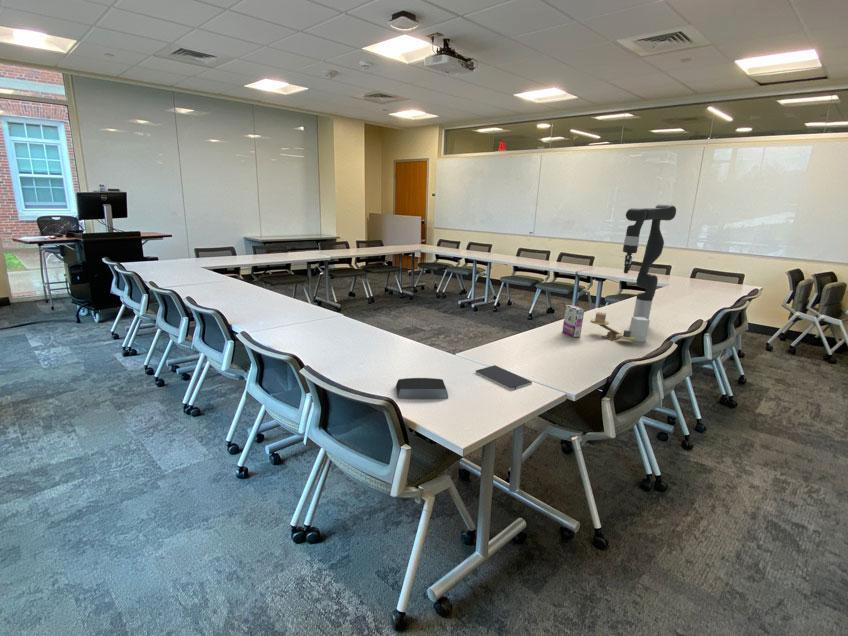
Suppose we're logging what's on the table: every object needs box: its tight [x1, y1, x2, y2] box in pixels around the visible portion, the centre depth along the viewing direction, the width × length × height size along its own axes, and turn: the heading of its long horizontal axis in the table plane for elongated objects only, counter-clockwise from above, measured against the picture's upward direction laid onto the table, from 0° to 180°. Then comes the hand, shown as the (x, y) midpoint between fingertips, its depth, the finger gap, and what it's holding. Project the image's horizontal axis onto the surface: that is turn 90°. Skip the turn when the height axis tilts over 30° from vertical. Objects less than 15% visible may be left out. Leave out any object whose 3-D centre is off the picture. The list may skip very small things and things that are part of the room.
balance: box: [590, 318, 636, 341], centre depth 257 cm, size 28×10×7 cm, turn 36°
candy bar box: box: [561, 304, 585, 338], centre depth 258 cm, size 11×5×16 cm, turn 17°
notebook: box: [475, 364, 533, 391], centre depth 193 cm, size 13×2×21 cm
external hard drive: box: [395, 377, 449, 400], centre depth 175 cm, size 13×19×4 cm
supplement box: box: [629, 316, 650, 343], centre depth 256 cm, size 7×7×13 cm
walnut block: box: [594, 311, 607, 323], centre depth 262 cm, size 5×5×5 cm
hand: (626, 272), depth 262 cm, fingers open, 8 cm apart
